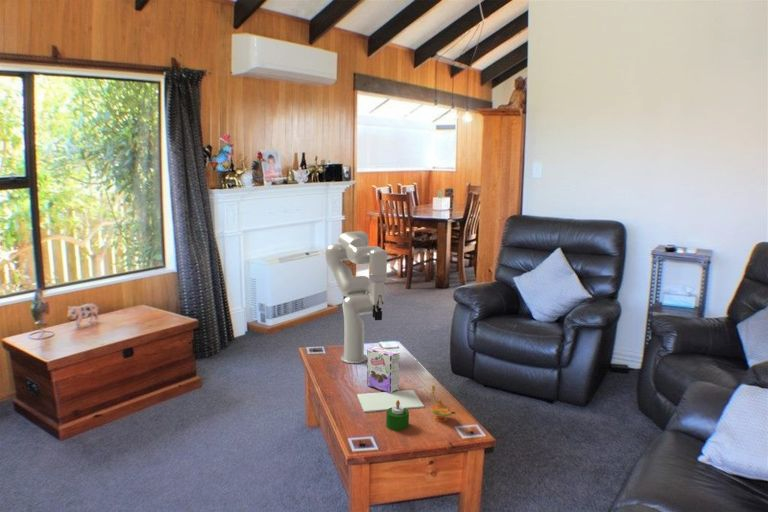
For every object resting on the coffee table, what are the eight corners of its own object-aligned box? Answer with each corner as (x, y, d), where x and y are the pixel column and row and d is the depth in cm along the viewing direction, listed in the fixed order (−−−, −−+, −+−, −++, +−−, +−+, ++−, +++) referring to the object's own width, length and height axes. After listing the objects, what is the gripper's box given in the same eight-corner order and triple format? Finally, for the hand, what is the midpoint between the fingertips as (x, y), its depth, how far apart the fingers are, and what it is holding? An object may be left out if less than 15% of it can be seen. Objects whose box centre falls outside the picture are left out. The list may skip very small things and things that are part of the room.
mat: (356, 395, 241) (356, 394, 241) (413, 391, 246) (413, 389, 246) (364, 412, 226) (364, 410, 226) (423, 407, 231) (423, 405, 231)
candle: (391, 432, 210) (392, 406, 208) (382, 422, 217) (383, 397, 216) (412, 428, 213) (413, 402, 211) (402, 419, 221) (403, 394, 219)
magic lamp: (446, 432, 210) (447, 404, 208) (423, 412, 226) (423, 385, 225) (462, 429, 213) (464, 401, 211) (438, 409, 229) (439, 382, 227)
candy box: (366, 385, 251) (366, 348, 249) (375, 382, 255) (375, 345, 253) (390, 393, 241) (390, 355, 239) (399, 390, 246) (399, 352, 244)
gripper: (365, 274, 260) (365, 313, 263) (373, 282, 244) (372, 324, 247) (382, 273, 262) (381, 313, 265) (390, 281, 246) (389, 323, 249)
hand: (377, 318), depth 256 cm, fingers open, 3 cm apart
